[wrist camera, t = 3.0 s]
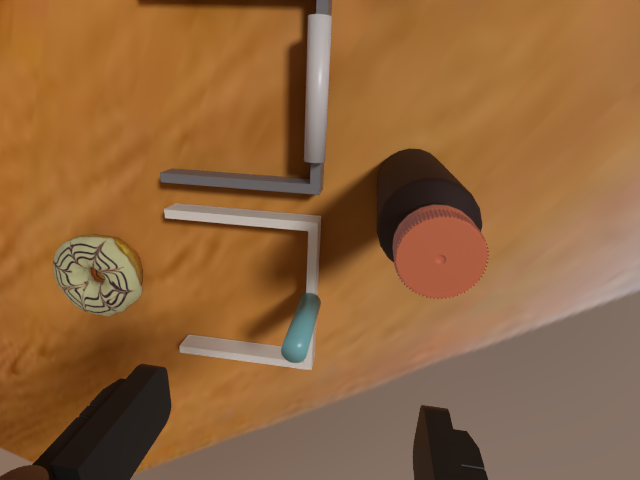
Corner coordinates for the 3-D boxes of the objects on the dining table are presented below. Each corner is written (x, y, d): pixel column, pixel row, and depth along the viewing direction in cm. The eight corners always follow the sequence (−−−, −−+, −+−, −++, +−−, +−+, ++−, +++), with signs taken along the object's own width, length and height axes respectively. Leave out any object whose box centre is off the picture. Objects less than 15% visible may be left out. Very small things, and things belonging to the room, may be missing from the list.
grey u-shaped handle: (173, 177, 42) (150, 186, 38) (153, -23, 35) (123, -40, 31) (327, 189, 40) (321, 200, 36) (338, -21, 33) (332, -38, 29)
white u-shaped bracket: (189, 340, 50) (138, 406, 39) (175, 203, 43) (109, 238, 32) (320, 357, 48) (303, 432, 37) (327, 216, 41) (310, 258, 30)
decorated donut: (164, 290, 48) (147, 306, 44) (100, 312, 51) (80, 328, 47) (120, 218, 45) (99, 228, 42) (55, 245, 48) (30, 257, 44)
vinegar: (363, 178, 39) (350, 252, 21) (415, 133, 37) (455, 169, 18) (404, 225, 40) (428, 335, 22) (458, 184, 38) (535, 267, 19)
